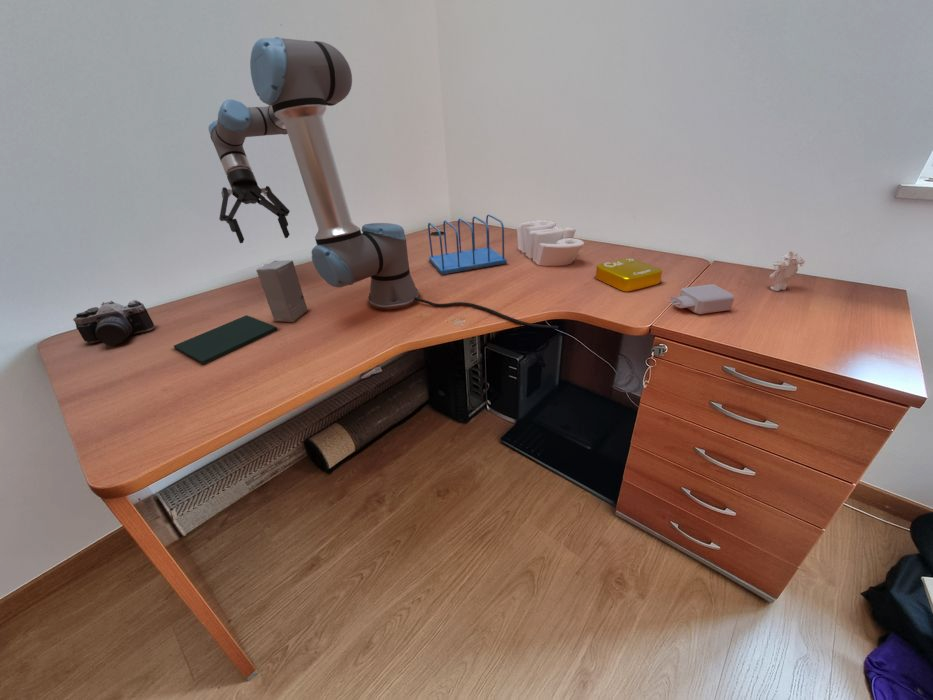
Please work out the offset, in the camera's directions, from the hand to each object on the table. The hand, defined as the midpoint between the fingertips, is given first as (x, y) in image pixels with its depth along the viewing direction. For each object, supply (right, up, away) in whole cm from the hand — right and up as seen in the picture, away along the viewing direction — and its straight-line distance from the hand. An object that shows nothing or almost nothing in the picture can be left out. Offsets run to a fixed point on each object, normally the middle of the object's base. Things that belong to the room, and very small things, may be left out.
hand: (265, 238), depth 123 cm
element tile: (+114, -12, +5) cm, 115 cm away
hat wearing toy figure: (+155, -17, -6) cm, 156 cm away
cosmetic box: (+11, -25, -6) cm, 28 cm away
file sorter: (+63, -2, +26) cm, 68 cm away
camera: (-33, -32, -14) cm, 48 cm away
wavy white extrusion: (+93, +2, +31) cm, 98 cm away
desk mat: (-2, -32, -17) cm, 36 cm away
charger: (+125, -23, -14) cm, 128 cm away
